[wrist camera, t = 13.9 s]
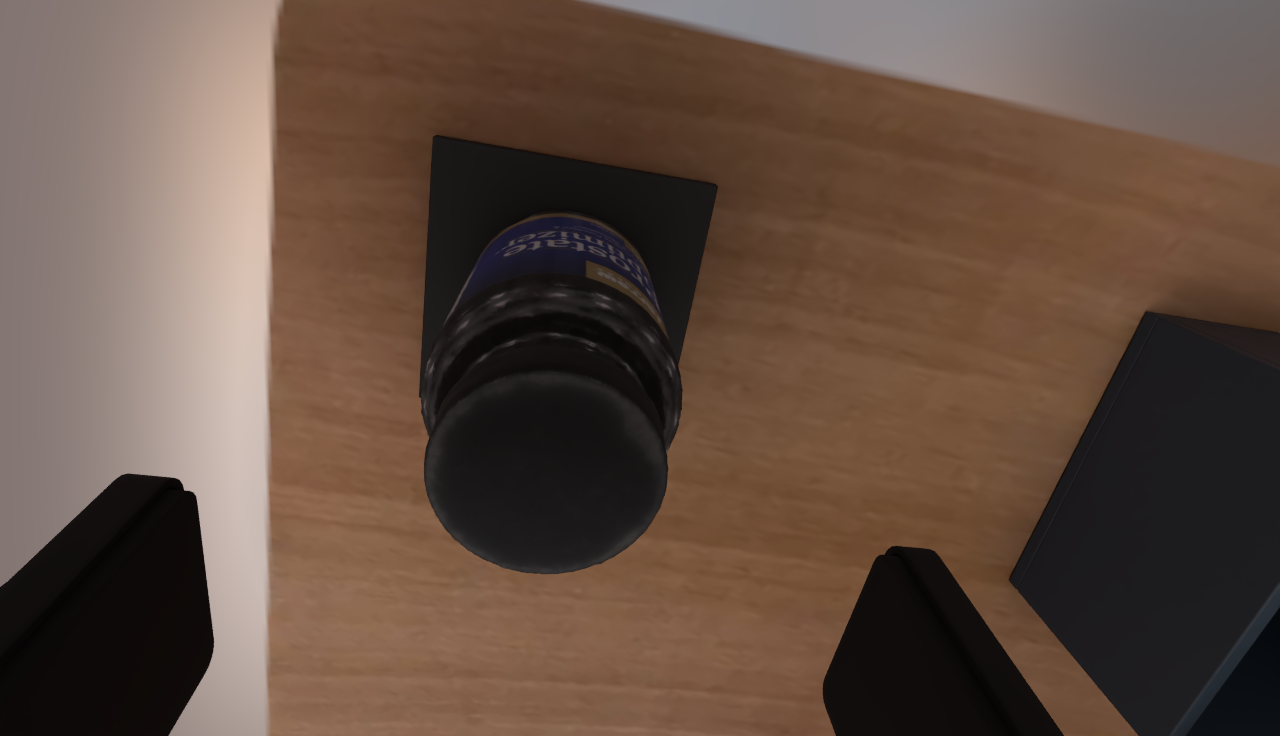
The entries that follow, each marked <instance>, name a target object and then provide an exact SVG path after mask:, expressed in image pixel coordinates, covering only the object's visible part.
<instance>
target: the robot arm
mask: <svg viewBox="0 0 1280 736" xmlns="http://www.w3.org/2000/svg"><path fill="white" fill-rule="evenodd" d="M213 648H214V637H213V629H212V620H211V612H210V604H209V596H208V588H207V580H206V571H205V563H204V554H203V547H202V538H201V530H200V521H199V513H198V505H197V499H196V496H195V494H194V493H193V492H191V491H184V488H183V484H182V483H181V482H180V480H178V479H176V478H169V477H159V476H148V475H138V474H124V475H121V476H120V477H118V478H117V479H116V480H114V481H113V482H112V483H111V484H110V485H109V486H108V487H107V488H106V489H105V490H104V491H103V492H102V493H101V494H100V495H98V496H97V498H95V499H94V500H93V501H92V502H91V503H90V504H89V505H88V506H87V507H86V508H85V509H84V510H83V511H82V512H81V513H80V514H79V515H77V516H76V517H75V518H74V519H73V520H72V521H71V522H70V523H69V524H68V525H67V526H66V527H65V528H64V529H63V530H62V531H61V532H59V534H57V535H56V536H55V537H54V538H53V539H52V540H51V541H50V542H49V543H48V544H47V545H46V546H45V547H44V548H43V549H42V550H40V551H39V552H38V553H37V554H36V555H35V556H34V557H33V558H32V559H31V560H30V561H29V562H28V563H27V564H26V565H25V566H24V567H23V568H21V570H19V571H18V572H17V573H16V574H15V575H14V576H13V577H12V578H11V579H10V580H9V581H8V582H6V583H5V584H4V585H2V586H1V587H0V736H168V735H169V734H170V732H171V730H172V729H173V727H174V725H175V724H176V722H177V720H178V719H179V717H180V715H181V713H182V712H183V710H184V708H185V706H186V705H187V703H188V702H189V700H190V698H191V696H192V695H193V693H194V691H195V690H196V688H197V686H198V685H199V683H200V681H201V679H202V678H203V676H204V674H205V672H206V671H207V669H208V667H209V664H210V661H211V658H212V654H213ZM823 699H824V704H825V707H826V710H827V713H828V715H829V718H830V721H831V723H832V726H833V729H834V732H835V734H836V736H1064V735H1063V734H1062V732H1061V731H1060V729H1059V728H1058V726H1057V725H1056V723H1055V722H1054V721H1053V719H1052V718H1051V716H1050V715H1049V713H1048V712H1047V711H1046V709H1045V708H1044V706H1043V705H1042V703H1041V702H1040V700H1039V699H1038V698H1037V696H1036V695H1035V693H1034V692H1033V690H1032V689H1031V688H1030V686H1029V685H1028V683H1027V682H1026V680H1025V679H1024V678H1023V676H1022V675H1021V673H1020V672H1019V670H1018V669H1017V667H1016V666H1015V665H1014V663H1013V662H1012V660H1011V659H1010V657H1009V656H1008V655H1007V653H1006V652H1005V650H1004V649H1003V647H1002V646H1001V644H1000V643H999V642H998V640H997V639H996V637H995V636H994V634H993V633H992V632H991V630H990V629H989V627H988V626H987V624H986V623H985V621H984V620H983V619H982V617H981V616H980V614H979V613H978V611H977V610H976V609H975V607H974V606H973V604H972V603H971V601H970V600H969V598H968V597H967V596H966V594H965V593H964V591H963V590H962V588H961V587H960V586H959V584H958V583H957V581H956V580H955V578H954V577H953V575H952V574H951V573H950V571H949V570H948V568H947V567H946V565H945V564H944V563H943V561H942V560H941V558H940V557H939V556H938V555H937V554H936V552H935V551H932V550H930V549H923V548H912V547H902V546H893V547H891V548H889V549H888V550H887V551H886V553H885V555H879V556H878V557H877V558H876V559H875V561H874V563H873V565H872V568H871V570H870V572H869V575H868V577H867V579H866V582H865V584H864V586H863V589H862V591H861V594H860V596H859V598H858V601H857V603H856V605H855V608H854V610H853V612H852V615H851V617H850V619H849V622H848V624H847V626H846V629H845V631H844V634H843V636H842V638H841V641H840V643H839V645H838V648H837V650H836V652H835V655H834V657H833V659H832V662H831V664H830V667H829V669H828V671H827V674H826V676H825V679H824V682H823Z"/></svg>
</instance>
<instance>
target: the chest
mask: <svg viewBox="0 0 1280 736" xmlns="http://www.w3.org/2000/svg"><path fill="white" fill-rule="evenodd" d="M1009 581H1010V582H1011V583H1012V585H1013V586H1014V587H1015V588H1016V589H1018V591H1019V593H1020V594H1021V595H1022V596H1023V597H1024V599H1025V600H1026V601H1027V602H1028V603H1029V605H1030V606H1031V607H1032V608H1033V609H1034V611H1035V612H1036V613H1037V614H1038V615H1039V617H1040V618H1041V619H1042V620H1043V621H1044V623H1045V624H1046V625H1047V626H1048V627H1049V629H1050V630H1051V631H1052V632H1053V633H1054V635H1055V636H1056V637H1057V638H1058V639H1059V641H1060V642H1061V643H1062V644H1063V645H1064V647H1065V648H1066V649H1067V650H1068V651H1069V653H1070V654H1071V655H1072V656H1073V657H1074V659H1075V660H1076V661H1077V662H1078V663H1079V665H1080V666H1081V667H1082V668H1083V669H1084V671H1085V672H1086V673H1087V674H1088V675H1089V677H1090V678H1091V679H1092V680H1093V681H1094V683H1095V684H1096V685H1097V686H1098V687H1099V689H1100V690H1101V691H1102V692H1103V693H1104V695H1105V696H1106V697H1107V698H1108V699H1109V701H1110V702H1111V703H1112V704H1113V705H1114V707H1115V708H1116V709H1117V710H1118V711H1119V713H1120V714H1121V715H1122V716H1123V717H1124V719H1125V720H1126V721H1127V722H1128V723H1129V725H1130V726H1131V727H1132V728H1133V729H1134V731H1135V732H1136V733H1137V734H1138V735H1139V736H1280V333H1276V332H1270V331H1264V330H1258V329H1252V328H1245V327H1239V326H1233V325H1227V324H1220V323H1214V322H1208V321H1202V320H1195V319H1189V318H1183V317H1177V316H1171V315H1164V314H1158V313H1152V312H1146V314H1145V316H1144V318H1143V320H1142V322H1141V324H1140V326H1139V328H1138V330H1137V331H1136V333H1135V335H1134V337H1133V339H1132V341H1131V343H1130V345H1129V347H1128V349H1127V351H1126V353H1125V355H1124V357H1123V359H1122V361H1121V363H1120V365H1119V367H1118V369H1117V371H1116V373H1115V374H1114V376H1113V378H1112V380H1111V382H1110V384H1109V386H1108V388H1107V390H1106V392H1105V394H1104V396H1103V398H1102V400H1101V402H1100V404H1099V406H1098V408H1097V410H1096V412H1095V414H1094V416H1093V417H1092V419H1091V421H1090V423H1089V425H1088V427H1087V429H1086V431H1085V433H1084V435H1083V437H1082V439H1081V441H1080V443H1079V445H1078V447H1077V449H1076V451H1075V453H1074V455H1073V457H1072V458H1071V460H1070V462H1069V464H1068V466H1067V468H1066V470H1065V472H1064V474H1063V476H1062V478H1061V480H1060V482H1059V484H1058V486H1057V488H1056V490H1055V492H1054V494H1053V496H1052V498H1051V500H1050V501H1049V503H1048V505H1047V507H1046V509H1045V511H1044V513H1043V515H1042V517H1041V519H1040V521H1039V523H1038V525H1037V527H1036V529H1035V531H1034V533H1033V535H1032V537H1031V539H1030V541H1029V543H1028V544H1027V546H1026V548H1025V550H1024V552H1023V554H1022V556H1021V558H1020V560H1019V562H1018V564H1017V566H1016V568H1015V570H1014V572H1013V574H1012V576H1011V578H1010V580H1009Z"/></svg>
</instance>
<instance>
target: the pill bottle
mask: <svg viewBox="0 0 1280 736" xmlns="http://www.w3.org/2000/svg"><path fill="white" fill-rule="evenodd" d="M682 391H683V390H682V384H681V376H680V371H679V368H678V363H677V361H676V358H675V355H674V351H673V349H672V346H671V342H670V339H669V336H668V333H667V329H666V326H665V323H664V320H663V316H662V313H661V310H660V306H659V303H658V300H657V297H656V294H655V290H654V287H653V284H652V281H651V278H650V275H649V272H648V270H647V268H646V266H645V264H644V262H643V259H642V257H641V255H640V253H639V251H638V249H637V248H636V246H635V245H634V244H633V242H632V241H631V240H630V239H628V238H627V237H626V236H624V235H623V234H622V233H621V232H620V231H619V230H617V229H616V228H615V227H613V226H612V225H610V224H608V223H606V222H604V221H602V220H600V219H598V218H596V217H594V216H591V215H588V214H584V213H578V212H573V211H556V210H552V211H545V212H540V213H537V214H534V215H532V216H530V217H528V218H526V219H524V220H522V221H520V222H518V223H516V224H514V225H511V226H509V227H507V228H505V229H503V230H502V231H500V232H499V233H498V234H497V235H495V236H494V237H493V238H492V239H491V240H490V242H489V243H488V244H487V246H486V247H485V249H484V250H483V252H482V253H481V255H480V257H479V258H478V260H477V262H476V264H475V266H474V268H473V270H472V272H471V273H470V275H469V277H468V279H467V281H466V283H465V285H464V287H463V289H462V290H461V292H460V294H459V296H458V298H457V300H456V302H455V304H454V306H453V308H452V310H451V312H450V313H449V315H448V317H447V319H446V321H445V323H444V325H443V327H442V329H441V330H440V332H439V334H438V335H437V337H436V339H435V340H434V342H433V344H432V348H431V351H430V354H429V356H428V358H427V360H426V361H425V364H424V367H423V372H422V385H421V404H422V410H421V413H422V416H423V420H424V424H425V426H426V429H427V433H428V436H429V441H428V444H427V446H426V452H425V460H424V481H425V486H426V491H427V495H428V498H429V501H430V503H431V506H432V508H433V509H434V512H435V514H436V516H437V517H438V519H439V521H440V522H441V524H442V525H443V526H444V528H445V529H446V531H447V532H449V533H450V534H451V536H452V537H453V538H454V539H455V540H456V541H458V542H459V543H460V544H461V545H462V546H464V547H465V548H466V549H467V550H468V551H471V552H472V553H473V554H475V555H477V556H479V557H480V558H482V559H484V560H486V561H489V562H492V563H494V564H496V565H499V566H500V567H502V568H506V569H511V570H515V571H520V572H526V573H535V574H537V573H540V574H559V573H566V572H574V571H577V570H581V569H585V568H588V567H591V566H593V565H596V564H601V563H603V562H605V561H606V560H608V559H610V558H612V557H615V556H616V555H617V554H619V553H620V552H622V551H623V550H625V549H626V548H628V547H629V546H630V545H631V544H633V543H634V542H635V541H636V540H637V539H638V538H639V537H640V536H641V535H642V534H643V533H644V532H645V531H646V530H647V528H648V527H649V525H650V524H651V522H652V521H653V519H654V517H655V516H656V514H657V512H658V510H659V509H660V507H661V504H662V500H663V498H664V496H665V492H666V487H667V473H668V465H667V451H668V450H669V447H670V445H671V443H672V440H673V438H674V436H675V434H676V431H677V428H678V425H679V419H680V415H681V410H682Z"/></svg>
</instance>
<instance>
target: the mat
mask: <svg viewBox="0 0 1280 736" xmlns="http://www.w3.org/2000/svg"><path fill="white" fill-rule="evenodd" d="M717 189H718V186H717V185H716V184H713V183H707V182H702V181H696V180H690V179H684V178H679V177H673V176H667V175H661V174H656V173H650V172H644V171H638V170H633V169H627V168H621V167H615V166H610V165H604V164H598V163H593V162H587V161H581V160H575V159H570V158H564V157H558V156H552V155H547V154H541V153H535V152H529V151H524V150H518V149H512V148H507V147H501V146H495V145H489V144H484V143H478V142H472V141H466V140H461V139H455V138H449V137H443V136H438V135H436V136H434V137H433V144H432V163H431V182H430V201H429V220H428V239H427V257H426V276H425V295H424V314H423V333H422V352H421V371H420V390H419V397H420V398H421V385H422V372H423V367H424V364H425V361H426V360H427V358H428V356H429V354H430V351H431V348H432V344H433V342H434V340H435V339H436V337H437V335H438V334H439V332H440V330H441V329H442V327H443V325H444V323H445V321H446V319H447V317H448V315H449V313H450V312H451V310H452V308H453V306H454V304H455V302H456V300H457V298H458V296H459V294H460V292H461V290H462V289H463V287H464V285H465V283H466V281H467V279H468V277H469V275H470V273H471V272H472V270H473V268H474V266H475V264H476V262H477V260H478V258H479V257H480V255H481V253H482V252H483V250H484V249H485V247H486V246H487V244H488V243H489V242H490V240H491V239H492V238H493V237H494V236H495V235H497V234H498V233H499V232H500V231H502V230H503V229H505V228H507V227H509V226H511V225H514V224H516V223H518V222H520V221H522V220H524V219H526V218H528V217H530V216H532V215H534V214H537V213H540V212H545V211H552V210H556V211H573V212H578V213H584V214H588V215H591V216H594V217H596V218H598V219H600V220H602V221H604V222H606V223H608V224H610V225H612V226H613V227H615V228H616V229H617V230H619V231H620V232H621V233H622V234H623V235H624V236H626V237H627V238H628V239H630V240H631V241H632V242H633V244H634V245H635V246H636V248H637V249H638V251H639V253H640V255H641V257H642V259H643V262H644V264H645V266H646V268H647V270H648V272H649V275H650V278H651V281H652V284H653V287H654V290H655V294H656V297H657V300H658V303H659V306H660V310H661V313H662V316H663V320H664V323H665V326H666V329H667V333H668V336H669V339H670V342H671V346H672V349H673V351H674V355H675V358H676V361H677V363H678V364H679V360H680V355H681V351H682V346H683V342H684V337H685V333H686V328H687V324H688V319H689V315H690V310H691V306H692V301H693V297H694V292H695V288H696V283H697V279H698V274H699V270H700V265H701V261H702V256H703V252H704V247H705V243H706V238H707V234H708V229H709V225H710V220H711V216H712V211H713V207H714V202H715V198H716V193H717Z"/></svg>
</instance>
